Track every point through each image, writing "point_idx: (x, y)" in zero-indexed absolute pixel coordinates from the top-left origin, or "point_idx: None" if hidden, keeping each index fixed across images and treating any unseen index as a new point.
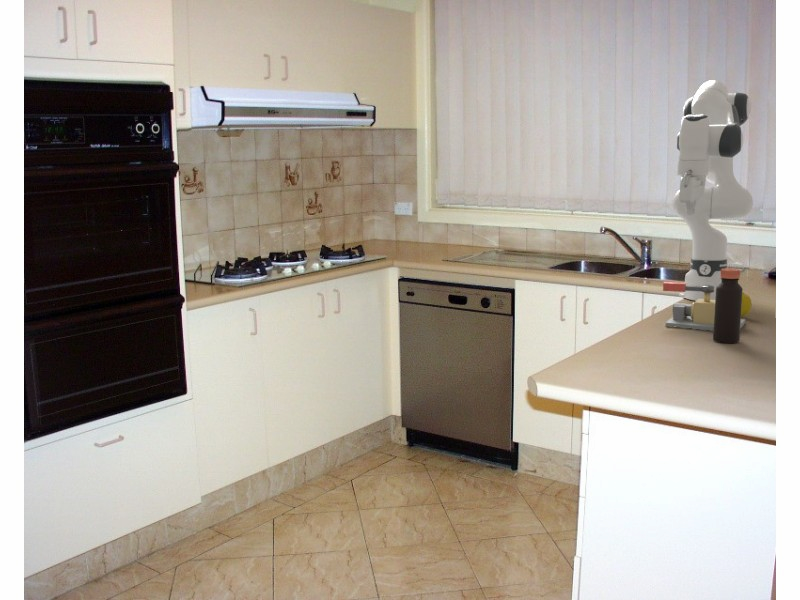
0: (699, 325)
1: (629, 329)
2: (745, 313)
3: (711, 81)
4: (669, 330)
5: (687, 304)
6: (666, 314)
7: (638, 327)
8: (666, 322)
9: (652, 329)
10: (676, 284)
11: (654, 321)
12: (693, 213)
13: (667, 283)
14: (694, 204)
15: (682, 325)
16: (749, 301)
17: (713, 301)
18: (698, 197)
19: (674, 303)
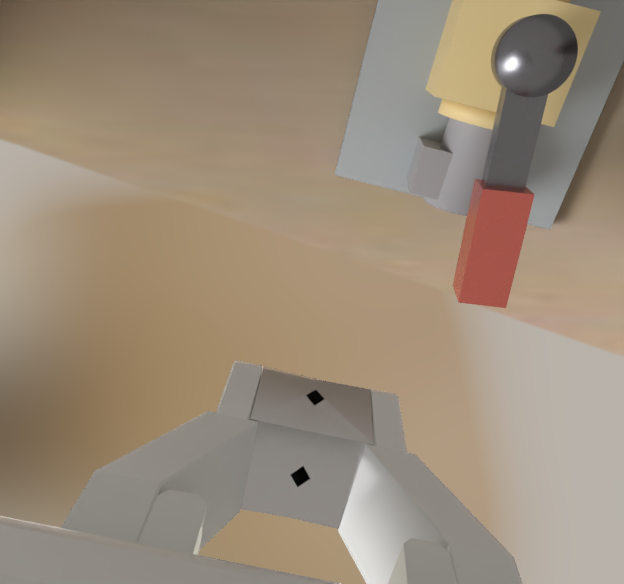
0: (603, 89)
1: (608, 349)
2: None
3: None
4: (620, 211)
5: (478, 153)
6: (293, 214)
7: (569, 319)
8: (546, 226)
9: (603, 273)
10: (521, 241)
11: (446, 262)
12: (338, 387)
13: (509, 287)
14: (189, 480)
15: (577, 162)
16: None
17: (513, 18)
18: (135, 572)
19: (457, 212)
